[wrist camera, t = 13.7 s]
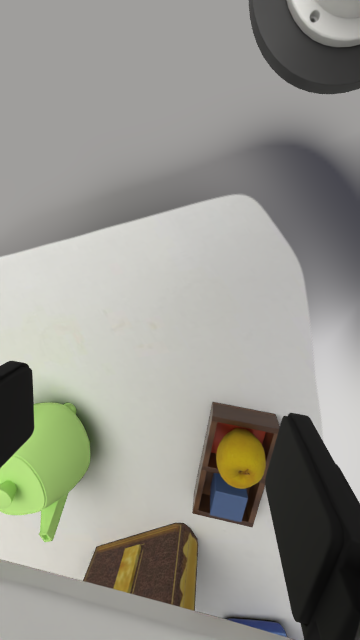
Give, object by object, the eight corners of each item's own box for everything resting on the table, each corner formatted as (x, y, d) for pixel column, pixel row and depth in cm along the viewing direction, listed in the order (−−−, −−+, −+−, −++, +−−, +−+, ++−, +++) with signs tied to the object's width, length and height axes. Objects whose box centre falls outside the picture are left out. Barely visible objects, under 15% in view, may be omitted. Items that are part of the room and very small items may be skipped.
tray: (212, 401, 38) (212, 415, 34) (275, 414, 37) (281, 429, 34) (193, 493, 42) (192, 513, 39) (249, 505, 41) (252, 527, 38)
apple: (254, 413, 36) (265, 456, 29) (264, 450, 38) (277, 501, 30) (210, 421, 38) (210, 465, 30) (222, 457, 39) (224, 507, 31)
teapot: (117, 473, 43) (80, 559, 31) (49, 484, 46) (-10, 567, 34) (72, 367, 39) (9, 418, 27) (0, 385, 41) (-87, 439, 29)
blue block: (244, 471, 39) (248, 498, 35) (238, 494, 41) (241, 522, 36) (215, 465, 40) (215, 491, 35) (210, 487, 41) (209, 515, 37)
